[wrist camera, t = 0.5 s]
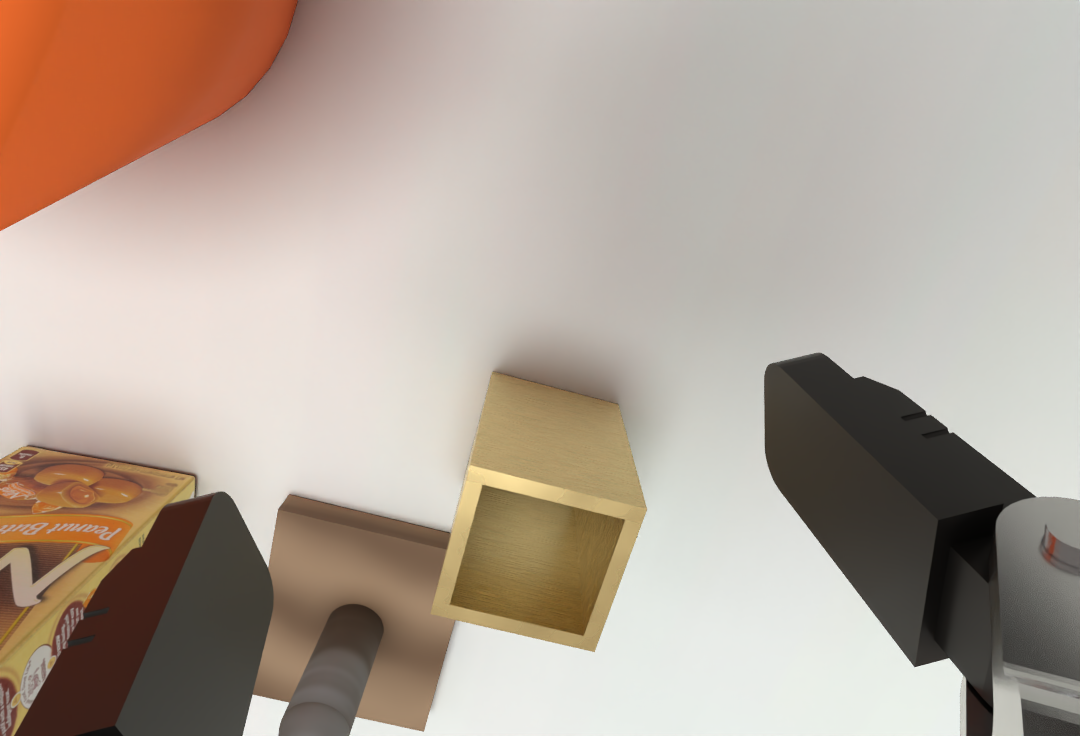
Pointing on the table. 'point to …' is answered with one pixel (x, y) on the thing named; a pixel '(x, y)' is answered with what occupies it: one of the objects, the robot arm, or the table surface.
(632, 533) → the sleeve
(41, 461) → the candy box
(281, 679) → the post base
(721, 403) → the table surface
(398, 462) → the table surface
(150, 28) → the flowerpot
